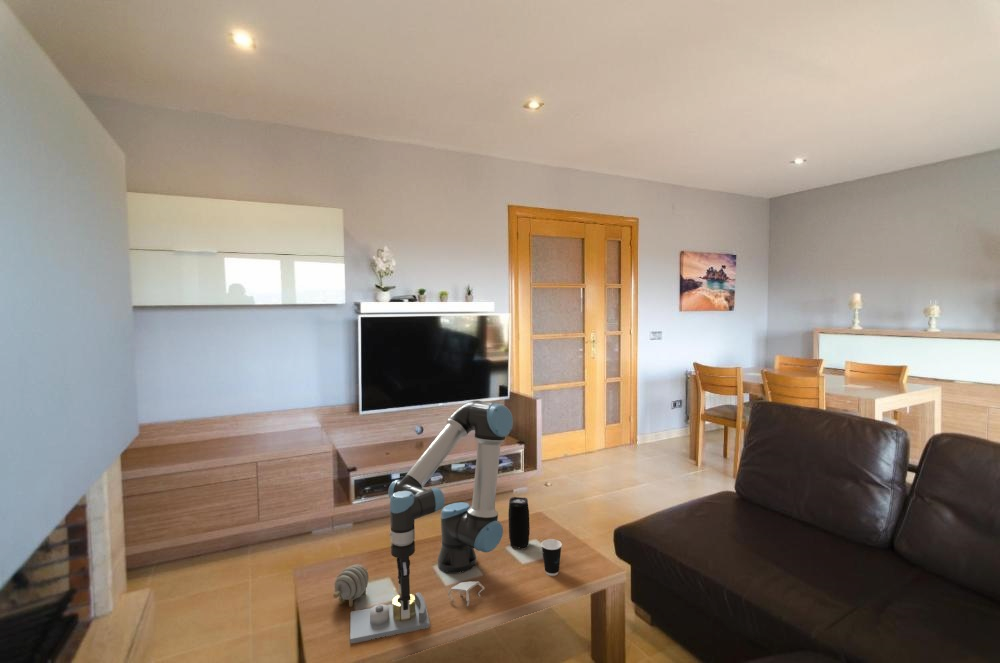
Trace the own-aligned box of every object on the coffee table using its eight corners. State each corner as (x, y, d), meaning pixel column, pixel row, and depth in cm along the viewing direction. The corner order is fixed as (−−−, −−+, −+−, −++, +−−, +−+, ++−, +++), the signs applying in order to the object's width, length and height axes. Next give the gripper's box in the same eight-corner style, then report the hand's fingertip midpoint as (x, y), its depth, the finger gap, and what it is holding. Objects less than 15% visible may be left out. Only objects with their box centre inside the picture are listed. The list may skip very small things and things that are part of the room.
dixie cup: (562, 578, 180) (562, 549, 179) (541, 577, 181) (540, 548, 180) (562, 567, 188) (561, 539, 187) (541, 566, 189) (541, 538, 188)
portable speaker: (531, 541, 209) (530, 496, 209) (526, 551, 200) (525, 505, 200) (512, 539, 212) (511, 494, 211) (506, 549, 203) (505, 503, 202)
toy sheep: (377, 588, 176) (376, 558, 176) (351, 616, 160) (350, 583, 159) (351, 584, 179) (350, 555, 178) (323, 612, 163) (322, 579, 162)
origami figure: (460, 611, 161) (459, 597, 161) (447, 600, 168) (446, 586, 168) (489, 598, 169) (489, 584, 168) (475, 587, 175) (475, 574, 175)
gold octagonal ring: (413, 606, 162) (413, 591, 162) (416, 619, 156) (415, 603, 155) (392, 610, 160) (391, 595, 160) (394, 623, 154) (393, 607, 153)
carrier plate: (424, 602, 167) (423, 587, 167) (429, 627, 153) (429, 611, 153) (350, 616, 160) (350, 600, 160) (350, 643, 147) (349, 626, 146)
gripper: (388, 529, 166) (390, 595, 166) (393, 557, 146) (394, 632, 147) (411, 526, 168) (412, 592, 169) (418, 553, 149) (419, 627, 149)
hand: (404, 610), depth 158 cm, fingers closed on gold octagonal ring, 7 cm apart
